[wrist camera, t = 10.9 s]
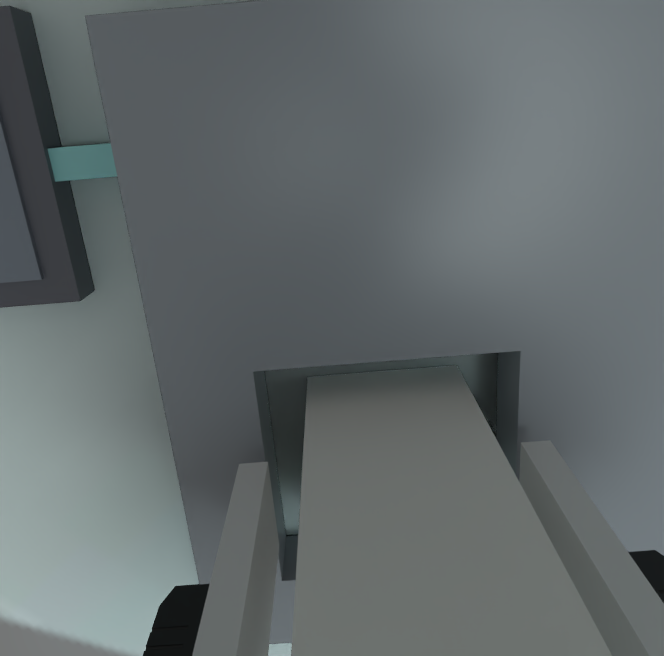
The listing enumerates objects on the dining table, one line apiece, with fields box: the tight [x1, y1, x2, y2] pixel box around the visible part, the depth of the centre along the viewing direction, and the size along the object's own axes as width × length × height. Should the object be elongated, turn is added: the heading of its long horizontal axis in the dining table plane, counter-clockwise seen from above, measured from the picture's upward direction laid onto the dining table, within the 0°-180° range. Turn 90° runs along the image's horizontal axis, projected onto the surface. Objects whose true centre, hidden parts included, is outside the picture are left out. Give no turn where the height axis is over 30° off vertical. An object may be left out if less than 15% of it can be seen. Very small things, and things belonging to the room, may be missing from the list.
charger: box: [291, 365, 612, 656], centre depth 13 cm, size 4×4×10 cm
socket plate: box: [85, 0, 664, 644], centre depth 16 cm, size 18×16×2 cm
